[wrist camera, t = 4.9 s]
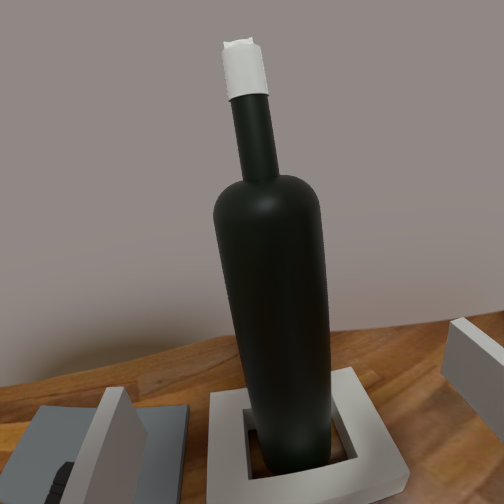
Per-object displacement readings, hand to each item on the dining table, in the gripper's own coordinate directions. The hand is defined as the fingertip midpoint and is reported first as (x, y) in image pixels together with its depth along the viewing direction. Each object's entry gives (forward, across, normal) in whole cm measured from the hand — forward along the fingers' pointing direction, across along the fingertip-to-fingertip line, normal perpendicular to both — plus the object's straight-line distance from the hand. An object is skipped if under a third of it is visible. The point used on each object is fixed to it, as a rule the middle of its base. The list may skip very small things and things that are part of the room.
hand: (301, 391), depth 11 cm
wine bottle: (+8, 0, -15) cm, 17 cm away
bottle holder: (+8, 0, -15) cm, 17 cm away
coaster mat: (+8, -20, -15) cm, 26 cm away
